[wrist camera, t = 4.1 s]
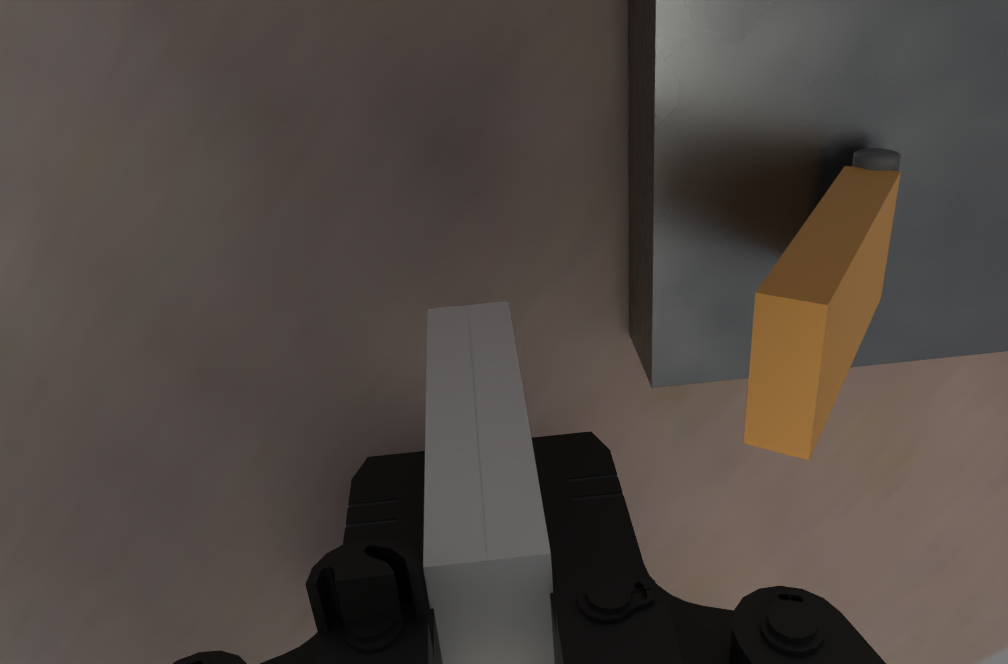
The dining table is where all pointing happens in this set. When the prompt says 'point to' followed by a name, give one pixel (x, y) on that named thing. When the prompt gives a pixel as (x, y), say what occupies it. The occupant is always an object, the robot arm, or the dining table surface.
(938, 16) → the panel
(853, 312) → the paddle
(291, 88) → the dining table surface
